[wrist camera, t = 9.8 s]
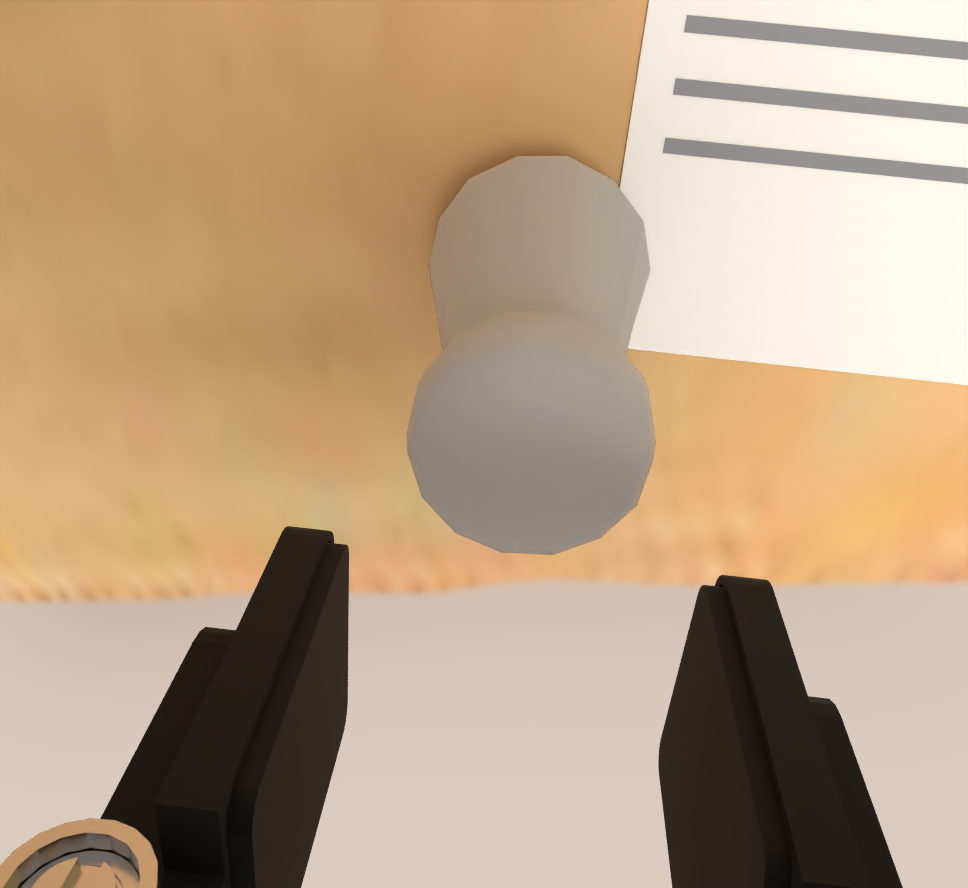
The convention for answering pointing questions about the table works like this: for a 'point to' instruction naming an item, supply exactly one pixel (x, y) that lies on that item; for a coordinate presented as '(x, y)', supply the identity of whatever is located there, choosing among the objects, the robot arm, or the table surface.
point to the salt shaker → (535, 360)
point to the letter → (804, 183)
